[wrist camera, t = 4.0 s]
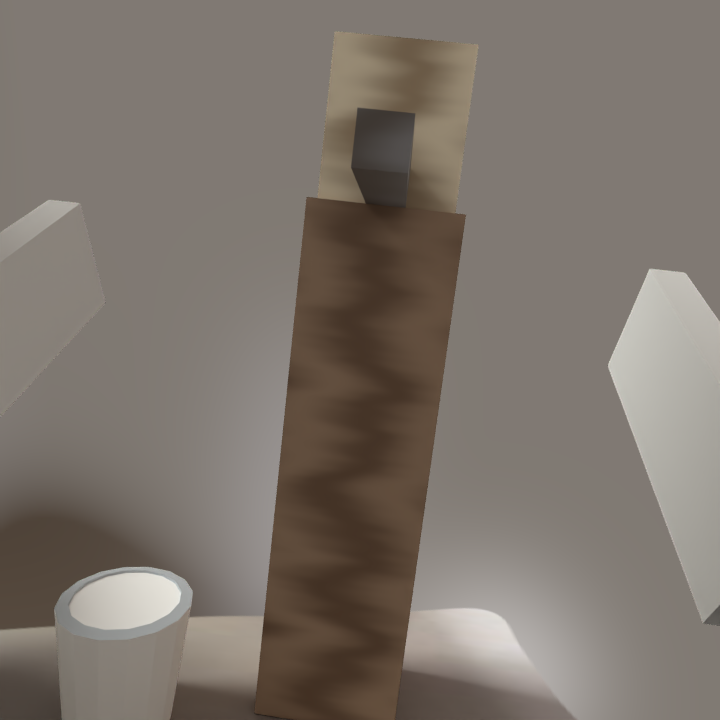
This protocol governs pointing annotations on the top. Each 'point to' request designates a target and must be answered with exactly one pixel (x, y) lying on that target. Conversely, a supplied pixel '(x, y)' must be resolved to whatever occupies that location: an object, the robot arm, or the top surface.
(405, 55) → the beige wooden block
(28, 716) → the top surface
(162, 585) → the white cup
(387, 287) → the brown wooden tall block
